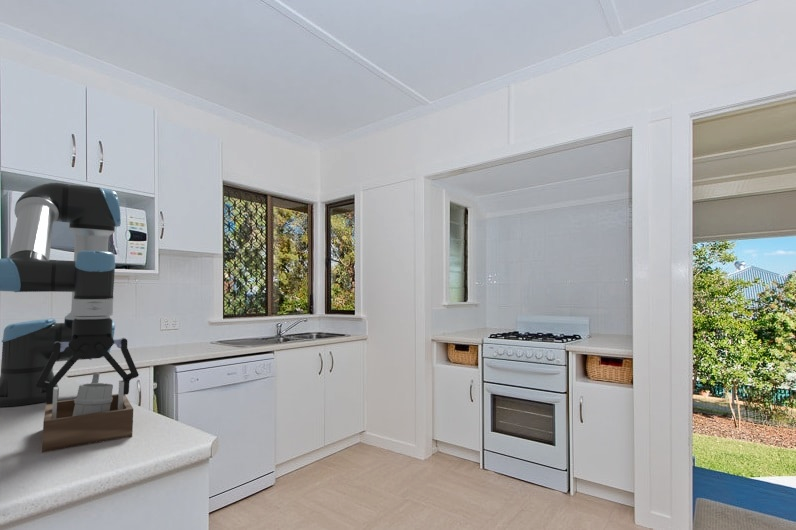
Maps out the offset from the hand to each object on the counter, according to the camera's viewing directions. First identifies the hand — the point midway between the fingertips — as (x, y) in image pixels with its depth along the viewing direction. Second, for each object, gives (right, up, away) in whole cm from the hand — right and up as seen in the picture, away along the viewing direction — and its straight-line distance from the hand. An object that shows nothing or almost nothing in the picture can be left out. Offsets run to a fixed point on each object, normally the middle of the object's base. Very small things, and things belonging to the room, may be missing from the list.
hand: (88, 413), depth 97 cm
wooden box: (0, -4, 0) cm, 4 cm away
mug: (0, -3, 0) cm, 3 cm away
